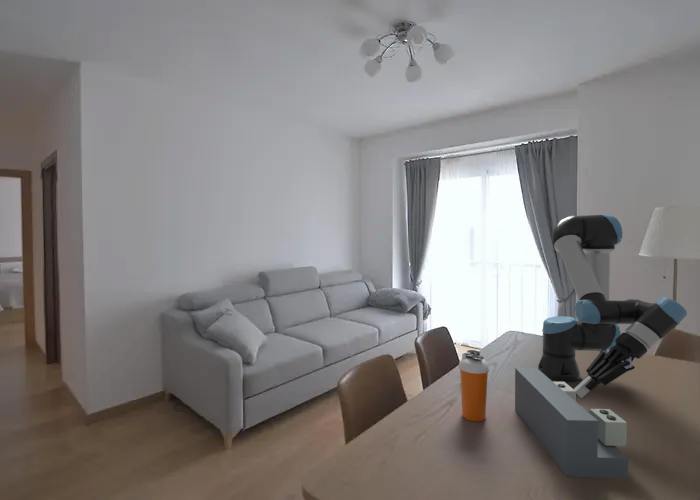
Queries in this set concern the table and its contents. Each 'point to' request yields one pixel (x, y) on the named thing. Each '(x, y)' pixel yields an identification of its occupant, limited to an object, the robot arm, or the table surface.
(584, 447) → the grey stepped stand
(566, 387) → the key one
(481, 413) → the shaker bottle
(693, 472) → the table surface
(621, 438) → the key two
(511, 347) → the table surface
